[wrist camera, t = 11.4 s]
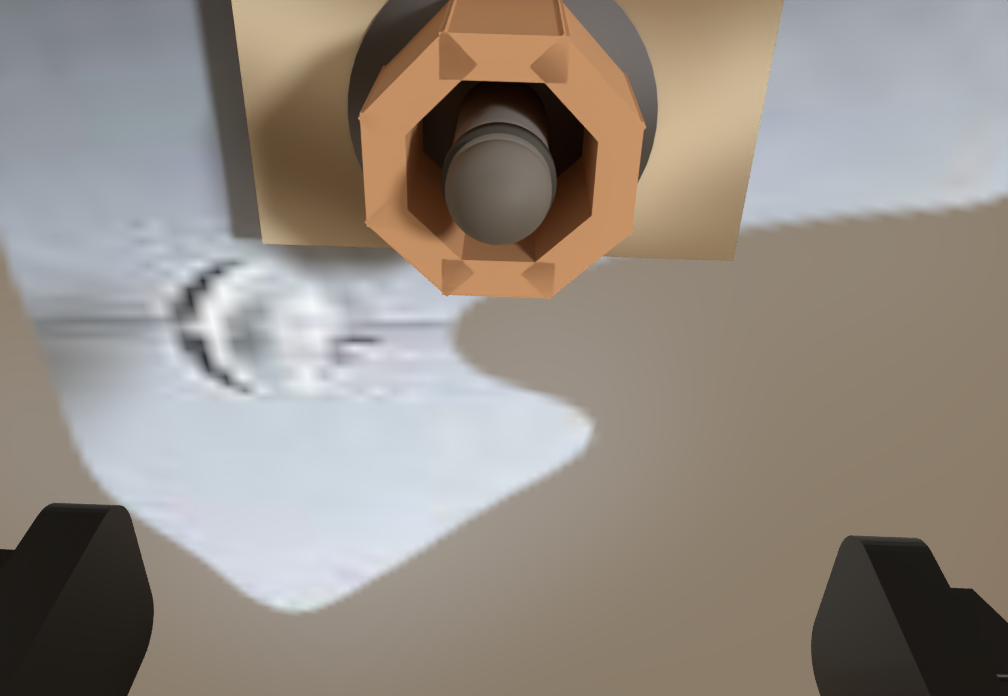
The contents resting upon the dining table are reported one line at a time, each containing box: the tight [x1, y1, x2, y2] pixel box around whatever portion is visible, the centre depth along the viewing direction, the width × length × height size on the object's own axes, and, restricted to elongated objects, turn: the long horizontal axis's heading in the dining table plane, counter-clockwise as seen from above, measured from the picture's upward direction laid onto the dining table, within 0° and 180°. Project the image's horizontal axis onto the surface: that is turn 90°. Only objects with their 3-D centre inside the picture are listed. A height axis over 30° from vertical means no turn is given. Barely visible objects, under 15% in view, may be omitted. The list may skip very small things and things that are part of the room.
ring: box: [358, 0, 646, 300], centre depth 22 cm, size 6×6×4 cm
